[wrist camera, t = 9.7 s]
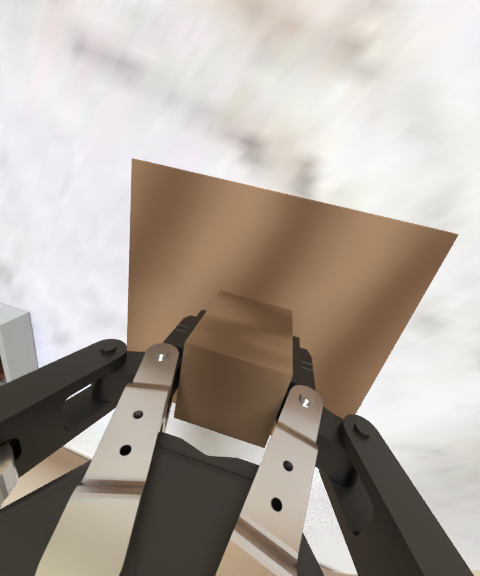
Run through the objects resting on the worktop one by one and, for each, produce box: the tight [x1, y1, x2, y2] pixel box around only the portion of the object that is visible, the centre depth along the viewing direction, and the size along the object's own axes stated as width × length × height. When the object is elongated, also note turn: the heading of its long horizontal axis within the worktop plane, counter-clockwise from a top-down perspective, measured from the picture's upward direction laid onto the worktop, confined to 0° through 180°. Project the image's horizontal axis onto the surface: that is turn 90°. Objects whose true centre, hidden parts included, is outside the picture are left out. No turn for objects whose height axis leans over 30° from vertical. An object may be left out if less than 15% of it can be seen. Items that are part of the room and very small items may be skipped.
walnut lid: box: [127, 159, 458, 448], centre depth 12 cm, size 15×15×6 cm
